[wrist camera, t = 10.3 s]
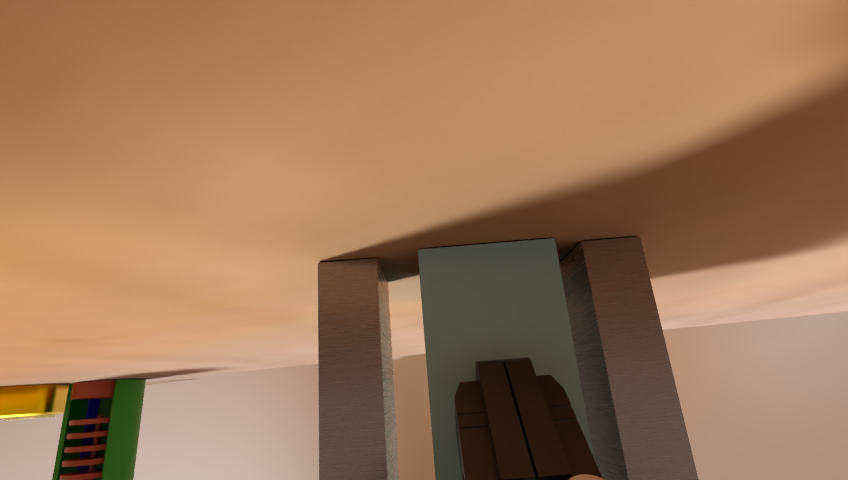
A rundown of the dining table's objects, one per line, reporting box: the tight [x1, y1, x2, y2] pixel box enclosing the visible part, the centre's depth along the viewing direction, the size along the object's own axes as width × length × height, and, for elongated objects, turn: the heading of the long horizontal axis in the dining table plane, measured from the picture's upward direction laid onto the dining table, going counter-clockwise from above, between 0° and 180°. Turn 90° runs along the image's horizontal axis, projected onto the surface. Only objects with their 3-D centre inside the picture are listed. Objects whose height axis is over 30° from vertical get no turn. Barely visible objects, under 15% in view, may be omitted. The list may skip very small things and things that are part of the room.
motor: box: [52, 379, 146, 480], centre depth 64 cm, size 10×9×20 cm
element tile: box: [0, 385, 69, 421], centre depth 66 cm, size 15×15×5 cm
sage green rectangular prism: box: [418, 238, 594, 480], centre depth 19 cm, size 13×4×12 cm, turn 1°
